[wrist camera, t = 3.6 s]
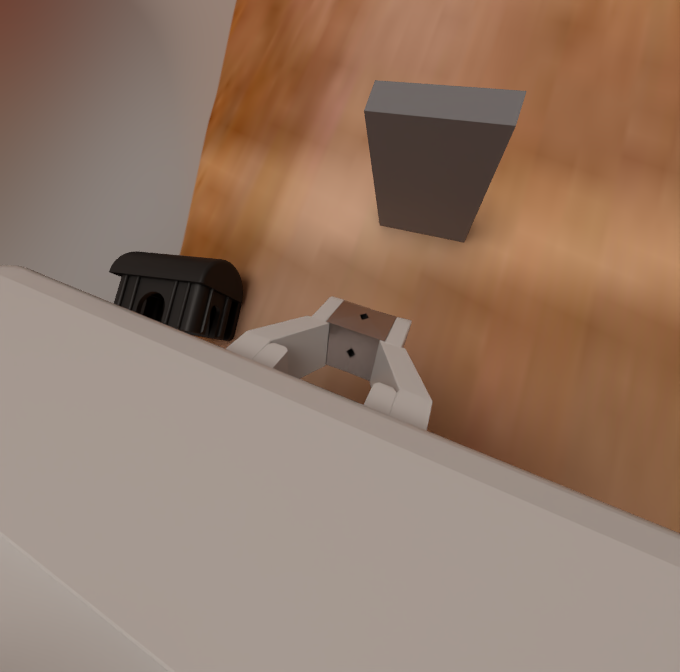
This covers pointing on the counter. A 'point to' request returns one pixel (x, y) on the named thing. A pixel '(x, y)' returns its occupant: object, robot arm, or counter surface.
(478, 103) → the slate tile
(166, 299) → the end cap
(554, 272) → the counter surface
